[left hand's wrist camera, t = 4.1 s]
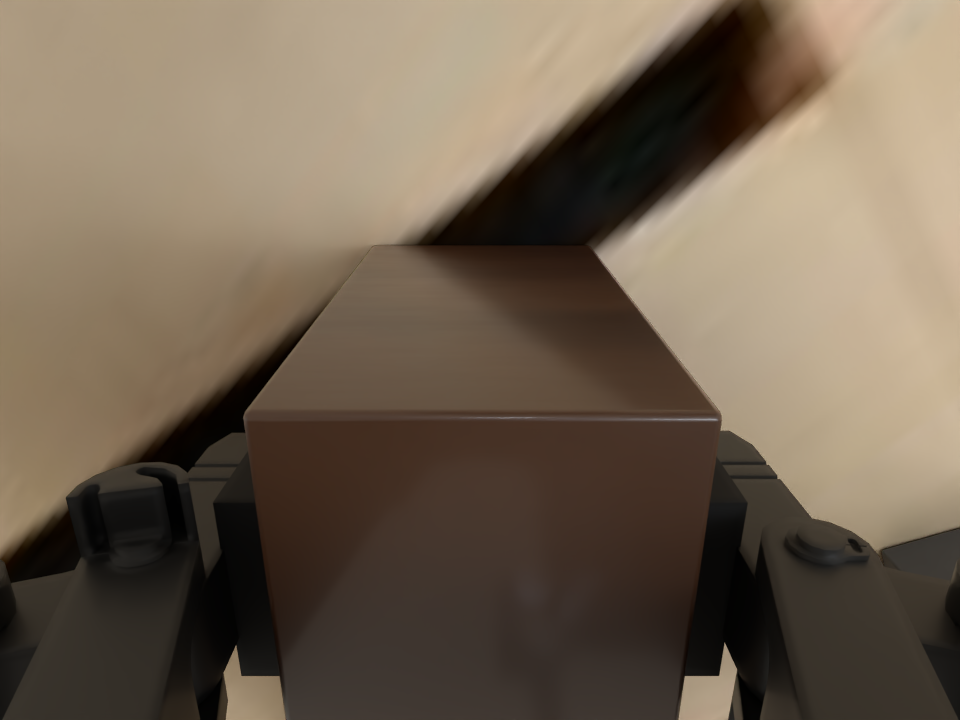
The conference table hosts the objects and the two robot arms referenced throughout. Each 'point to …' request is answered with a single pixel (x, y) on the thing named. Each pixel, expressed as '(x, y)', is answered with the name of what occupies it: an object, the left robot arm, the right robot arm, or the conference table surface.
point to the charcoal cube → (926, 555)
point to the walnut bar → (482, 494)
